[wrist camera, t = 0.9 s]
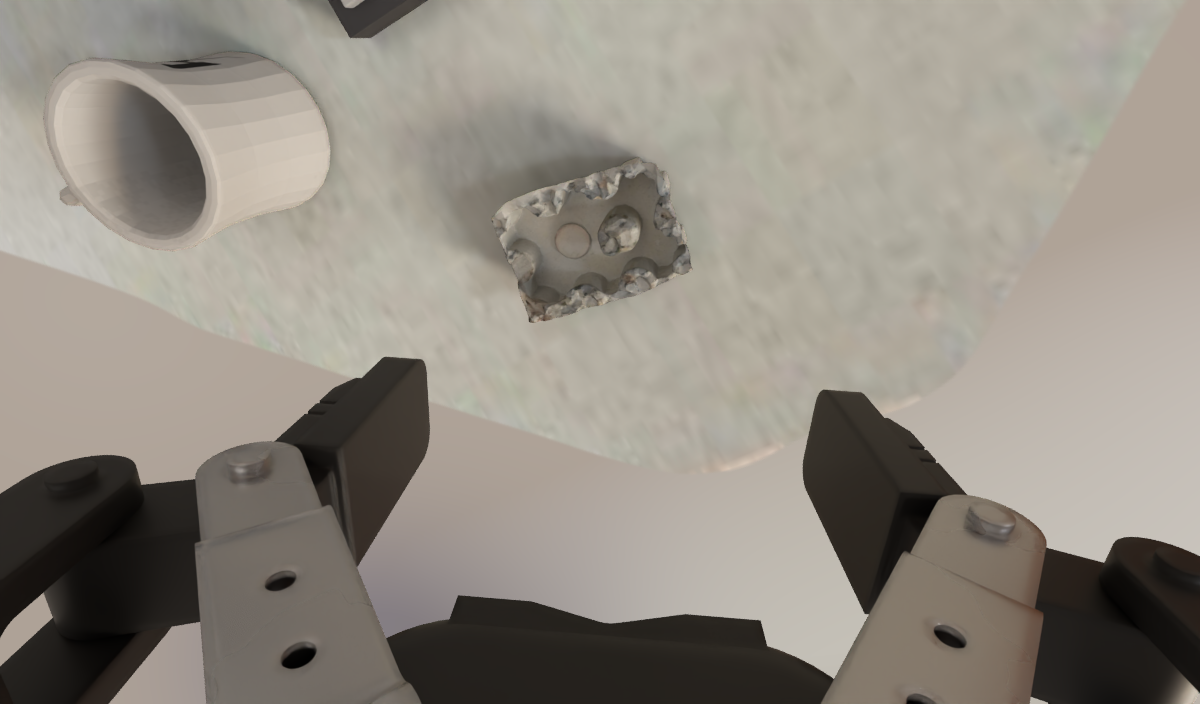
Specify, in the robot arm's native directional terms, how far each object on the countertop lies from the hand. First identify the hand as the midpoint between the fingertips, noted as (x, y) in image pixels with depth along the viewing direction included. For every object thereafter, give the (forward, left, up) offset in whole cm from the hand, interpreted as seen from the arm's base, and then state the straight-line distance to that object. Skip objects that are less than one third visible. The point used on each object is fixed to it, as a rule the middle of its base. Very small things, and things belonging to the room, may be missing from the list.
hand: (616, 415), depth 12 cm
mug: (-13, -24, -25) cm, 37 cm away
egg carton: (+1, -6, -25) cm, 26 cm away
